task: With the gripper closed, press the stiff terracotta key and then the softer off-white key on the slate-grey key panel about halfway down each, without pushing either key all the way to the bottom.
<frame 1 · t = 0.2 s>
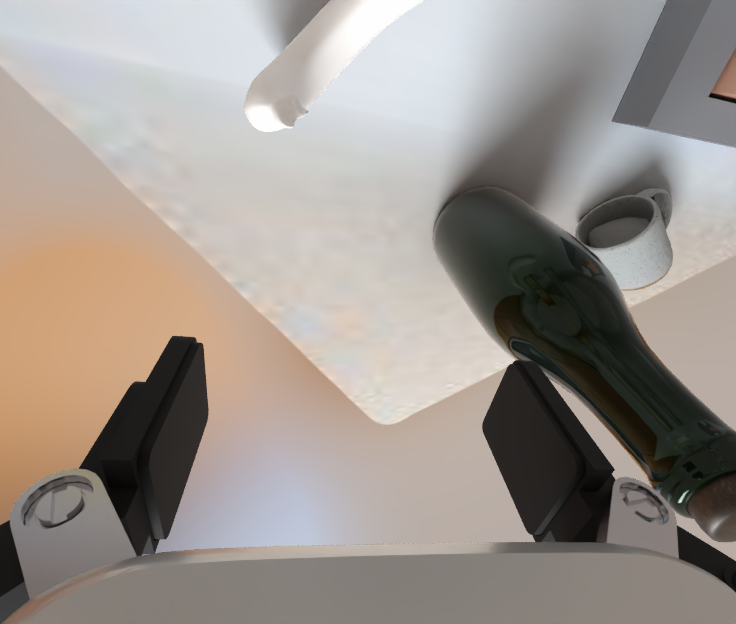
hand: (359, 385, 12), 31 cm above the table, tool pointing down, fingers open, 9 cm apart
banana: (346, 36, 32), on the table
ceramic mug: (613, 223, 44), on the table
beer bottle: (475, 230, 43), on the table
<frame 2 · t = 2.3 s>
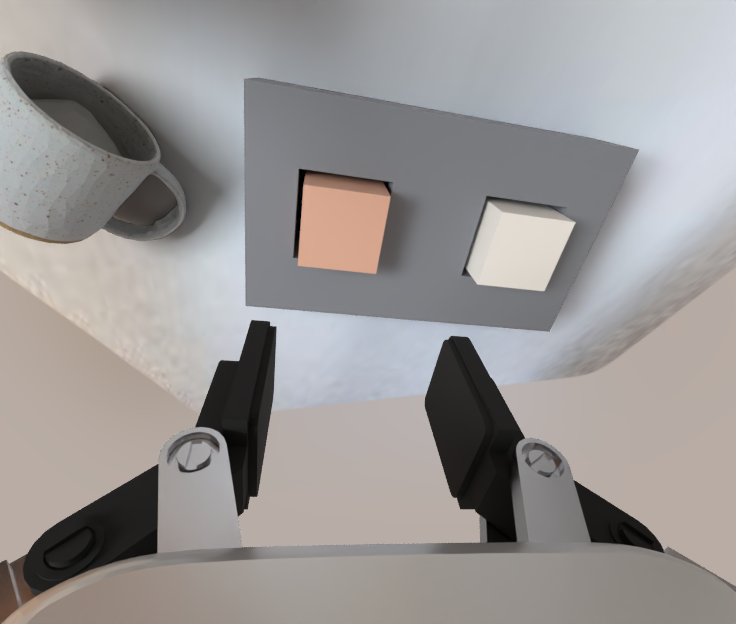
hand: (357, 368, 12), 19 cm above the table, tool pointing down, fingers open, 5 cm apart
white key: (509, 240, 27), point 5 cm above the table, slide at 0.0 cm
terracotta key: (341, 219, 25), point 5 cm above the table, slide at 0.0 cm
ceramic mug: (116, 161, 26), on the table
key panel: (415, 210, 30), on the table
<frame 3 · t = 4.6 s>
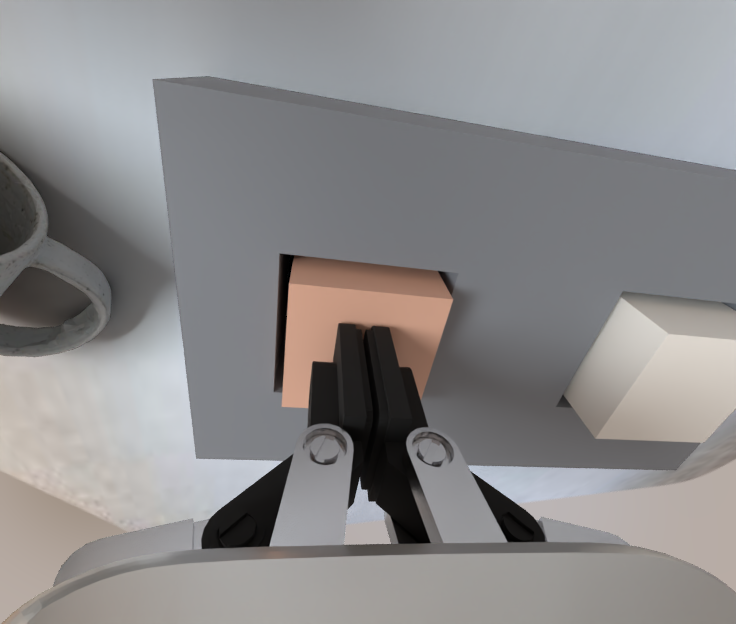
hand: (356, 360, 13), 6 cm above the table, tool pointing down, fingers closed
white key: (642, 353, 16), point 5 cm above the table, slide at 0.0 cm
terracotta key: (356, 317, 15), point 4 cm above the table, slide at 0.9 cm, touching gripper
key panel: (472, 286, 19), on the table
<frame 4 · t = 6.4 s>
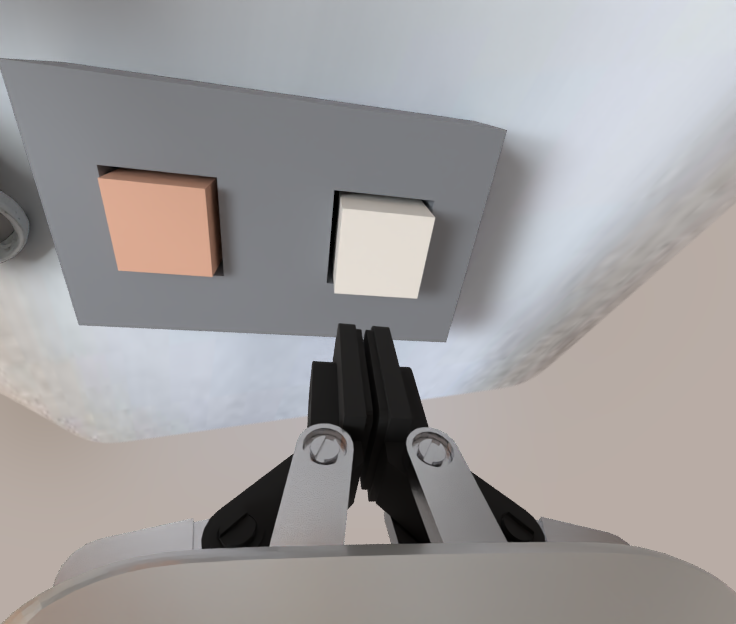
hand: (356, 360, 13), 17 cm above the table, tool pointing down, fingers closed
white key: (377, 241, 23), point 5 cm above the table, slide at 0.0 cm
terracotta key: (174, 217, 22), point 4 cm above the table, slide at 1.0 cm
key panel: (283, 209, 26), on the table
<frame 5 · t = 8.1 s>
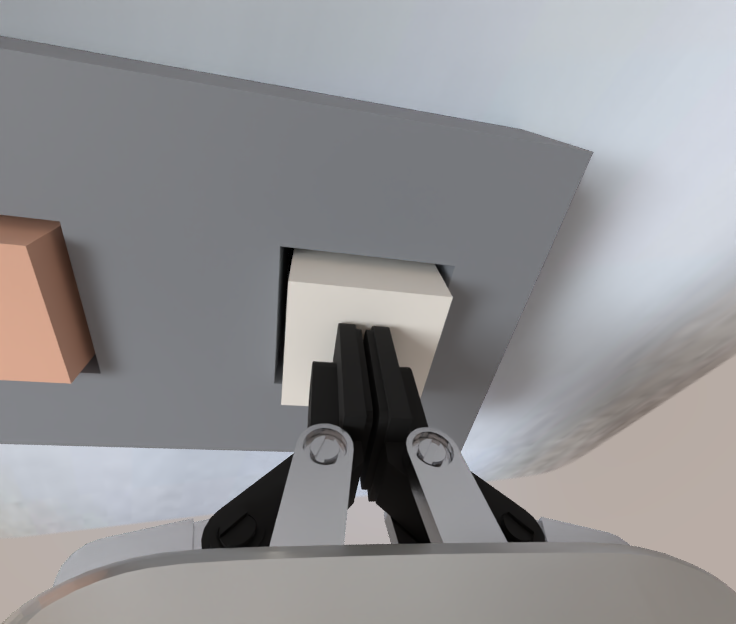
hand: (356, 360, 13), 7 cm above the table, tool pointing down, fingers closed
white key: (356, 315, 15), point 4 cm above the table, slide at 0.5 cm, touching gripper
terracotta key: (12, 277, 13), point 4 cm above the table, slide at 1.0 cm
key panel: (218, 254, 17), on the table
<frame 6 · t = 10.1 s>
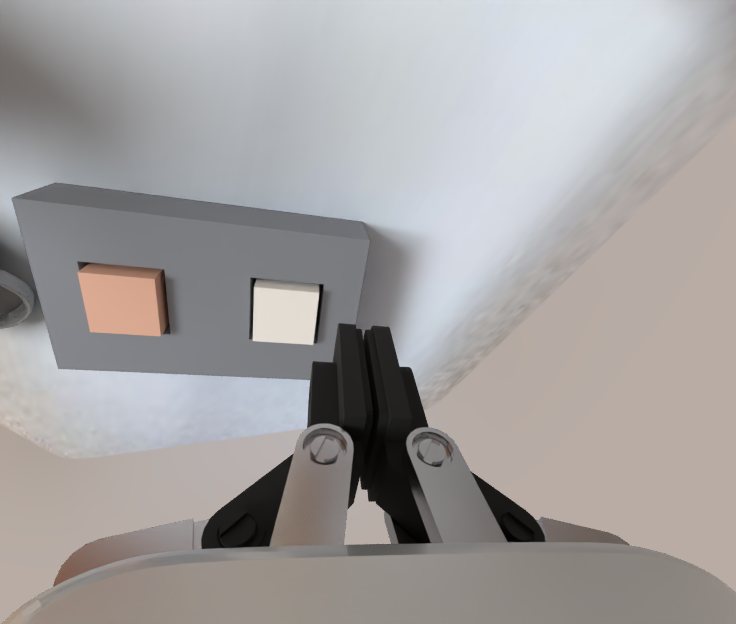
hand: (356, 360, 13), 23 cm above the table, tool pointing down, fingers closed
white key: (286, 303, 33), point 3 cm above the table, slide at 1.2 cm
terracotta key: (134, 291, 31), point 4 cm above the table, slide at 1.0 cm
key panel: (221, 280, 35), on the table
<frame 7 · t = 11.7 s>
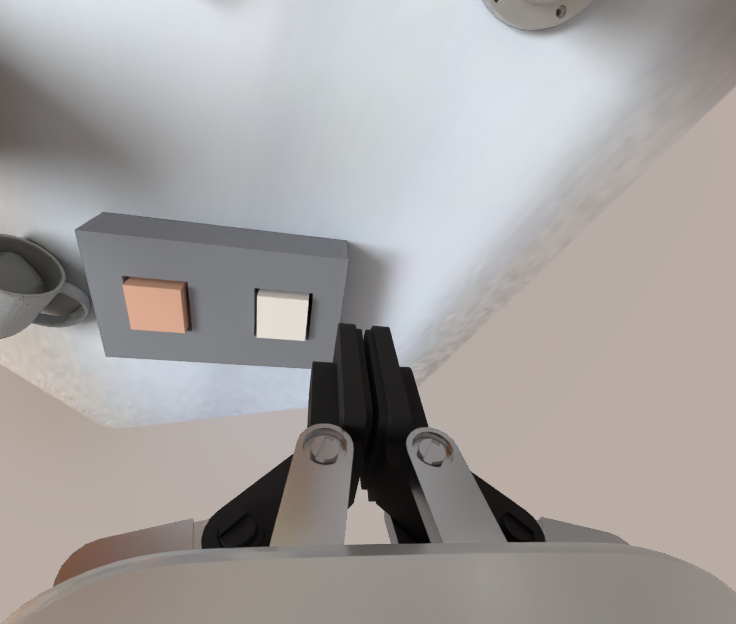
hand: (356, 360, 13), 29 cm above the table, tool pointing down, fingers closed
white key: (284, 307, 41), point 3 cm above the table, slide at 1.2 cm
terracotta key: (163, 297, 39), point 4 cm above the table, slide at 1.0 cm
ceramic mug: (41, 277, 40), on the table
key panel: (232, 286, 43), on the table
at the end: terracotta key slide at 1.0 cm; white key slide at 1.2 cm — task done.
